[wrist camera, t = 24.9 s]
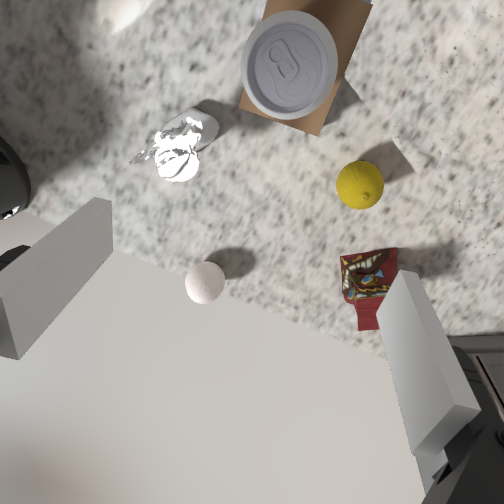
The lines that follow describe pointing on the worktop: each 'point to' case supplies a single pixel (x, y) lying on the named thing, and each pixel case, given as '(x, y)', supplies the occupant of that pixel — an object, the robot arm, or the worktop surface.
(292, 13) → the beverage can
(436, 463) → the toaster
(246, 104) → the walnut brick
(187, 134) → the figurine
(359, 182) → the lemon
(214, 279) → the egg
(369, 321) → the tiki totem
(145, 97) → the worktop surface
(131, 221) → the worktop surface
